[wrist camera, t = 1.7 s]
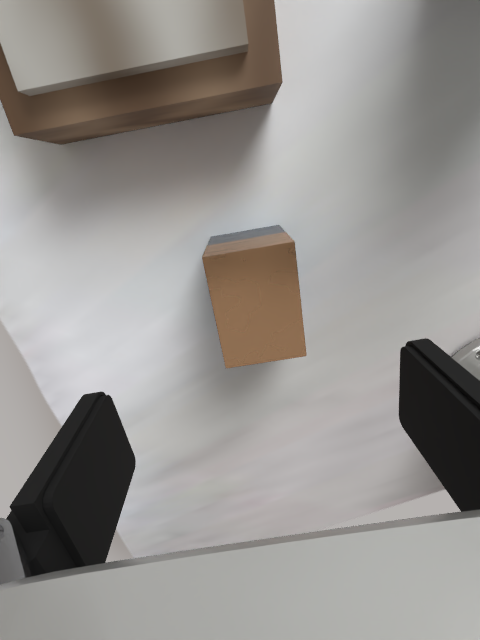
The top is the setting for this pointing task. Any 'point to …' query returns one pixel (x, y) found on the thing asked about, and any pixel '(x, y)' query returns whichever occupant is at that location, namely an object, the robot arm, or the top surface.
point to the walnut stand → (132, 63)
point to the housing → (255, 295)
